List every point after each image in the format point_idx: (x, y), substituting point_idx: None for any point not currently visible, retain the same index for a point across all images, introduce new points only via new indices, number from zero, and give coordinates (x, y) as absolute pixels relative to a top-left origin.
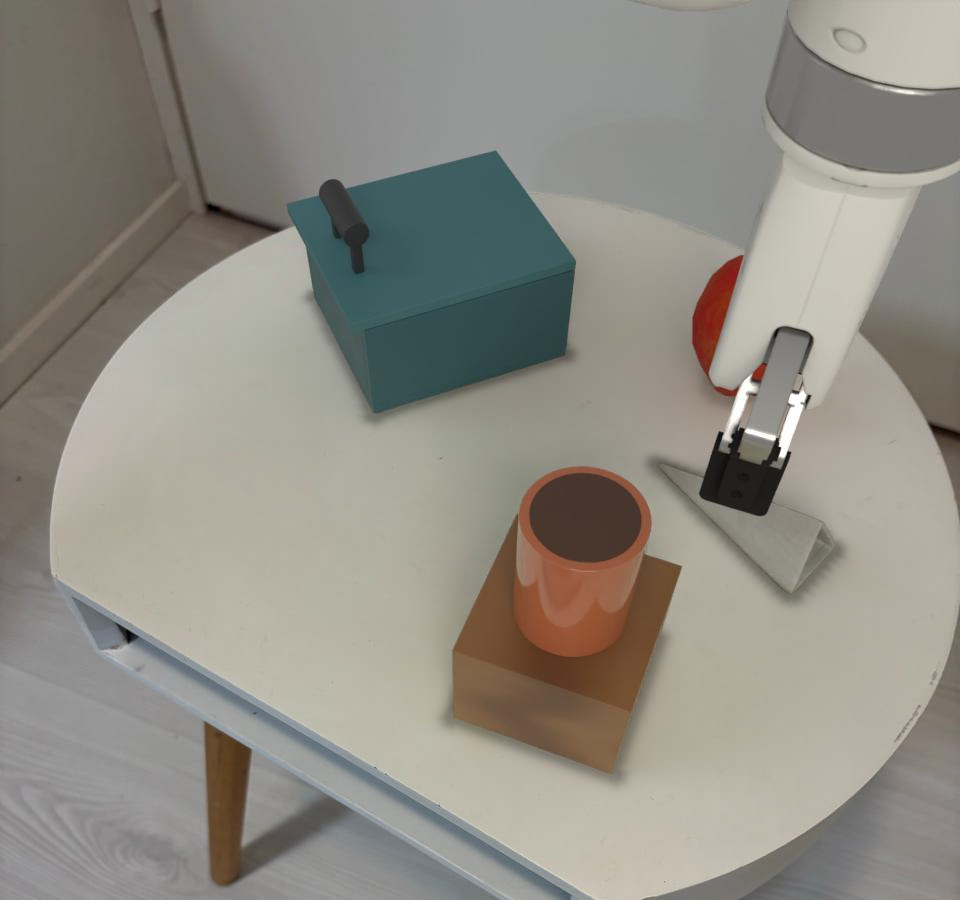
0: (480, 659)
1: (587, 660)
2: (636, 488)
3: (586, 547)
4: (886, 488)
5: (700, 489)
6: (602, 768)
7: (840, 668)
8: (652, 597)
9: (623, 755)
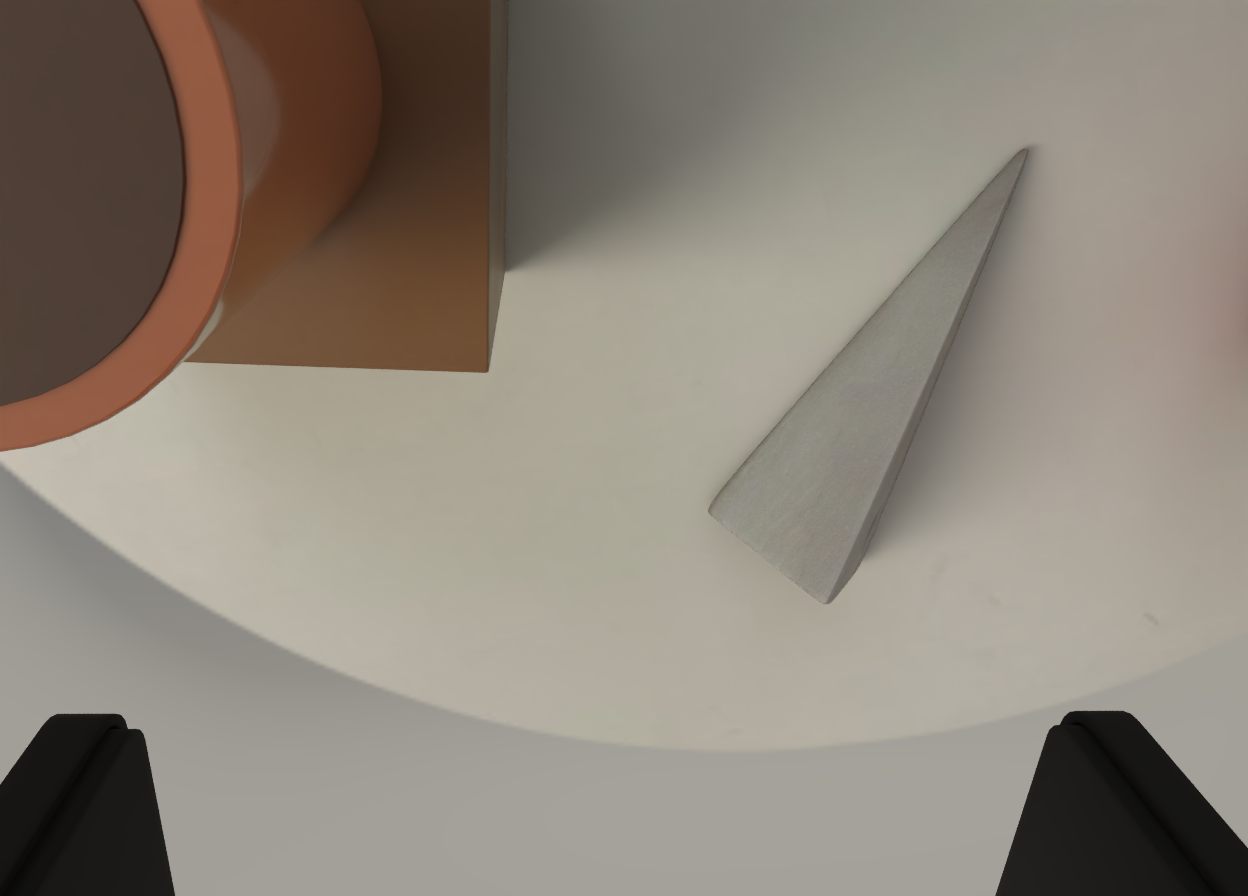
0: None
1: None
2: (198, 331)
3: None
4: (1025, 627)
5: (35, 741)
6: None
7: (567, 616)
8: (341, 319)
9: None
